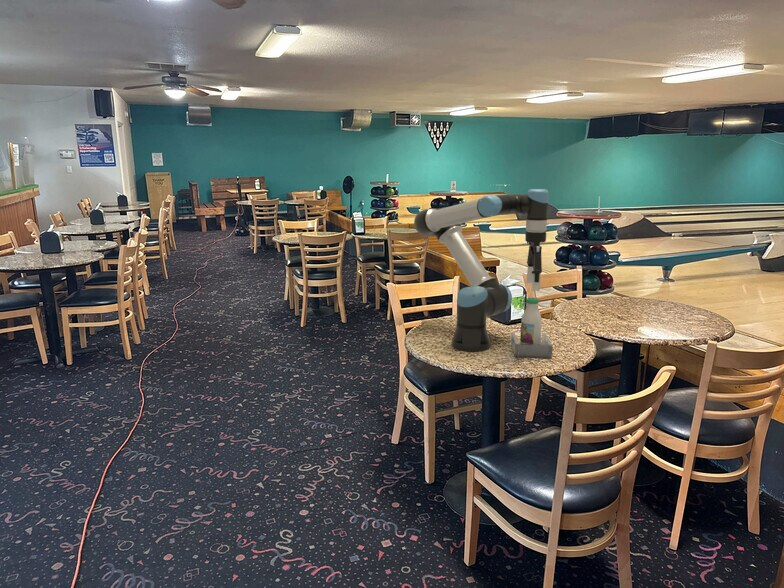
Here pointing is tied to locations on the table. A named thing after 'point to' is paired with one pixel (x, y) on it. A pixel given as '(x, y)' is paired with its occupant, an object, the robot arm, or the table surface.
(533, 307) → the milk bottle
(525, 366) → the table surface
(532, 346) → the coupler bracket
